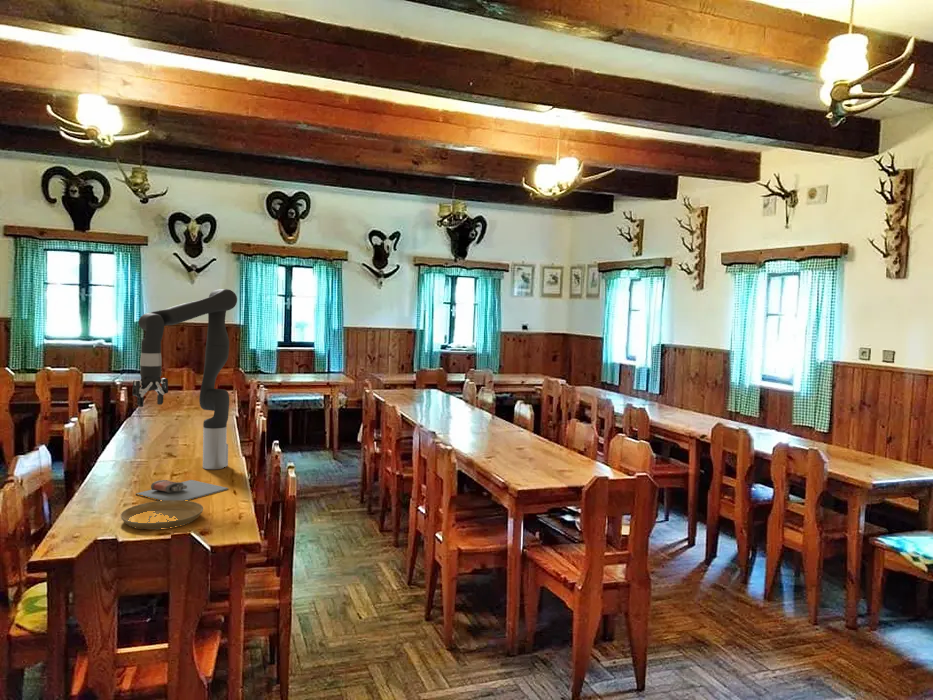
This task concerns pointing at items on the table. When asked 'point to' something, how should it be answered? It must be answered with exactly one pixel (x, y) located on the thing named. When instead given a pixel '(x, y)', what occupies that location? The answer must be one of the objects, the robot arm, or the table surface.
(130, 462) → the table surface
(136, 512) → the plant saucer
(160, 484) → the lighter
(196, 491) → the mat
